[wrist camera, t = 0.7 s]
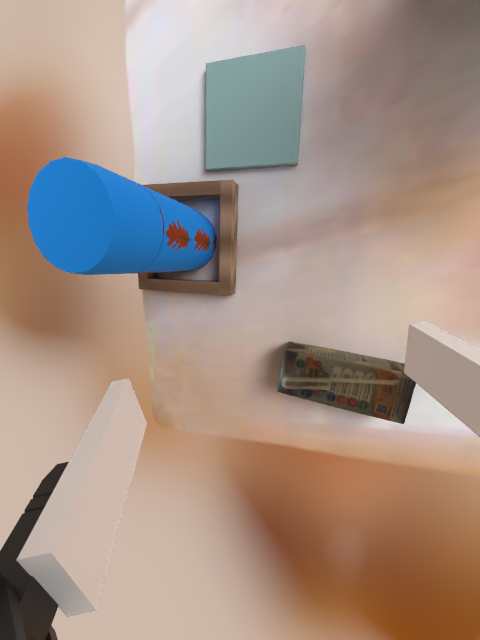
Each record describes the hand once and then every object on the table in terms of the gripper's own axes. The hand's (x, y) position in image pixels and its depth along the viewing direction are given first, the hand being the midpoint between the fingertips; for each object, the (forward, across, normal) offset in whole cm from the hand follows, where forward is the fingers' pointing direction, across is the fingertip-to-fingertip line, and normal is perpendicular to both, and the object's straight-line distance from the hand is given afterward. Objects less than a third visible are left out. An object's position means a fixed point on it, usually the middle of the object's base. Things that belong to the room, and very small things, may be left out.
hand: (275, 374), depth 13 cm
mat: (+41, +8, +19) cm, 46 cm away
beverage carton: (+27, +15, -22) cm, 38 cm away
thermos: (+41, -6, +2) cm, 42 cm away
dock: (+41, -6, +2) cm, 42 cm away
